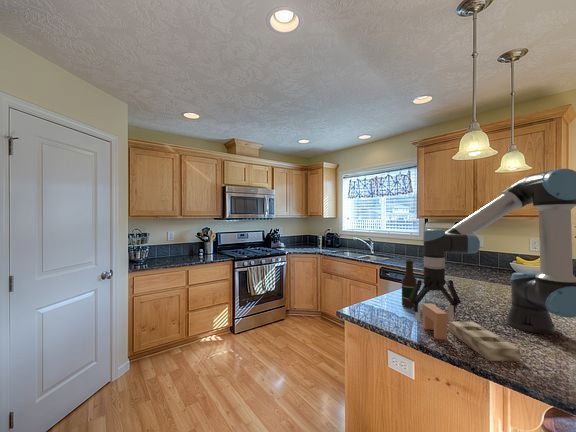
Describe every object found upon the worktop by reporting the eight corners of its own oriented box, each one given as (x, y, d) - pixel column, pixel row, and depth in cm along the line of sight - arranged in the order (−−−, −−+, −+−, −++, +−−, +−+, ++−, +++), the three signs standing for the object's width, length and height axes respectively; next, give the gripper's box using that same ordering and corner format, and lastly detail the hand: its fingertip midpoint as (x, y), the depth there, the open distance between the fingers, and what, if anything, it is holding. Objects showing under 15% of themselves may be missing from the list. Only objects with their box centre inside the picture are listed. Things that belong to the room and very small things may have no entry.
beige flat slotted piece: (474, 331, 106) (474, 321, 106) (520, 361, 84) (519, 348, 84) (449, 331, 107) (449, 321, 107) (488, 360, 85) (488, 348, 85)
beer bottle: (403, 302, 143) (403, 259, 143) (419, 305, 138) (419, 260, 138) (399, 306, 137) (399, 260, 137) (415, 309, 132) (415, 262, 132)
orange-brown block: (422, 326, 111) (422, 303, 111) (431, 327, 111) (431, 303, 111) (437, 339, 99) (437, 313, 99) (447, 340, 99) (447, 313, 99)
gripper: (459, 265, 108) (459, 317, 108) (399, 265, 109) (399, 316, 109) (471, 269, 101) (471, 324, 101) (407, 268, 102) (407, 323, 102)
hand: (434, 320), depth 105 cm, fingers open, 12 cm apart
